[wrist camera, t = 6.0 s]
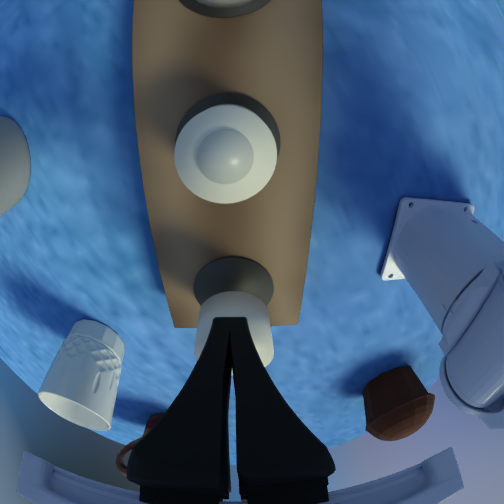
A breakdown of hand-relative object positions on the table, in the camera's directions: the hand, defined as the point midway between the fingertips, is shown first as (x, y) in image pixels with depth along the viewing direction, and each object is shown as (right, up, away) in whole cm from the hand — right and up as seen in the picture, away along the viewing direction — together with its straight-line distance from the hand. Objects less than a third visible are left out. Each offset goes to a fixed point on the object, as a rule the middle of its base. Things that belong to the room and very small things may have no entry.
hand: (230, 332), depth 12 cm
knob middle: (0, +9, +2) cm, 9 cm away
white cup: (-17, -6, +15) cm, 23 cm away
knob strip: (-1, +11, +5) cm, 12 cm away
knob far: (0, -1, +5) cm, 5 cm away
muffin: (+22, -17, +24) cm, 37 cm away
